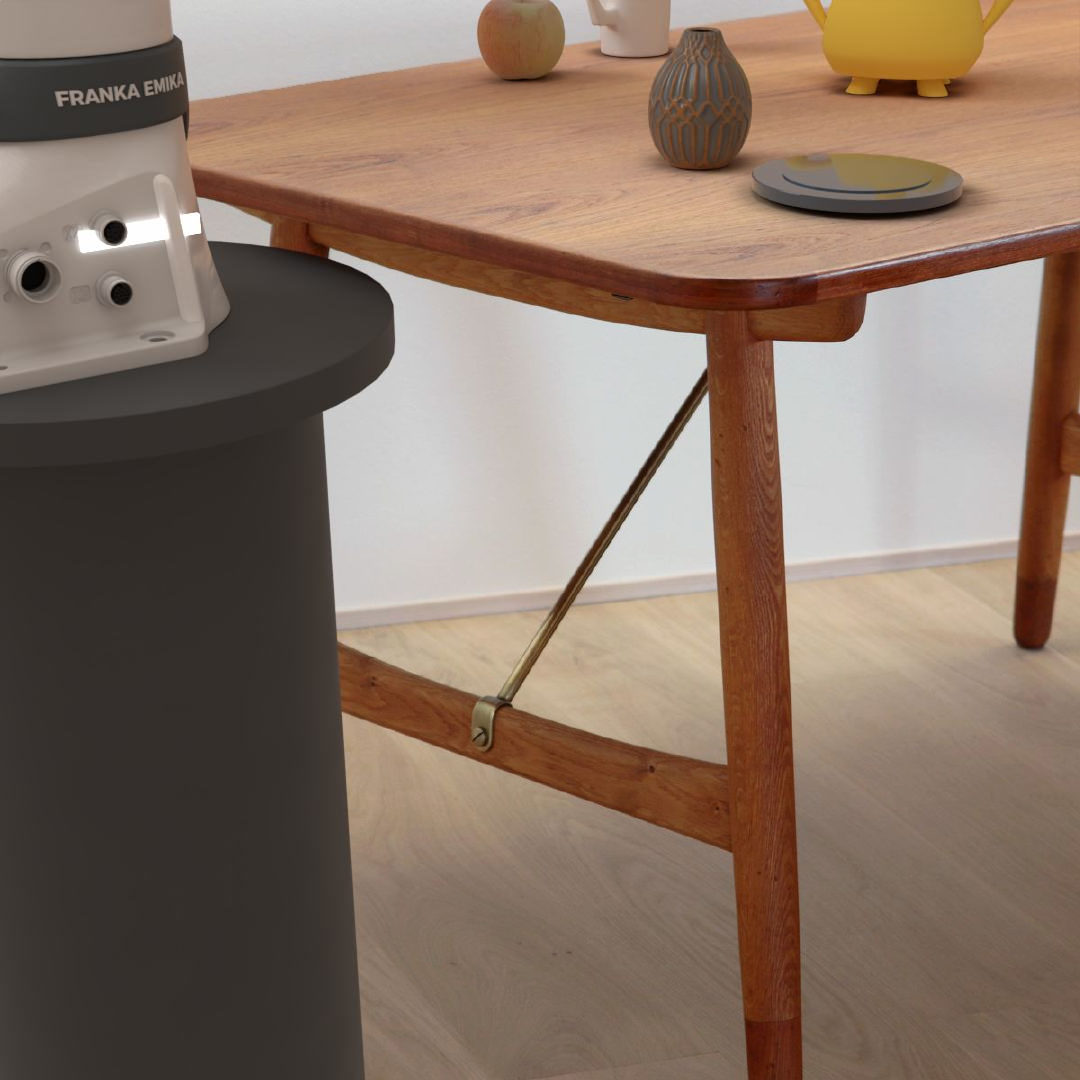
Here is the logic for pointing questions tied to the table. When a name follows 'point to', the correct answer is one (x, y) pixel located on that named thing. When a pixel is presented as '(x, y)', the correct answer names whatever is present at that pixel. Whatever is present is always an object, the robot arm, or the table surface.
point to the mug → (632, 26)
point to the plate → (857, 183)
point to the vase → (700, 103)
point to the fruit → (521, 37)
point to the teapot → (904, 40)
